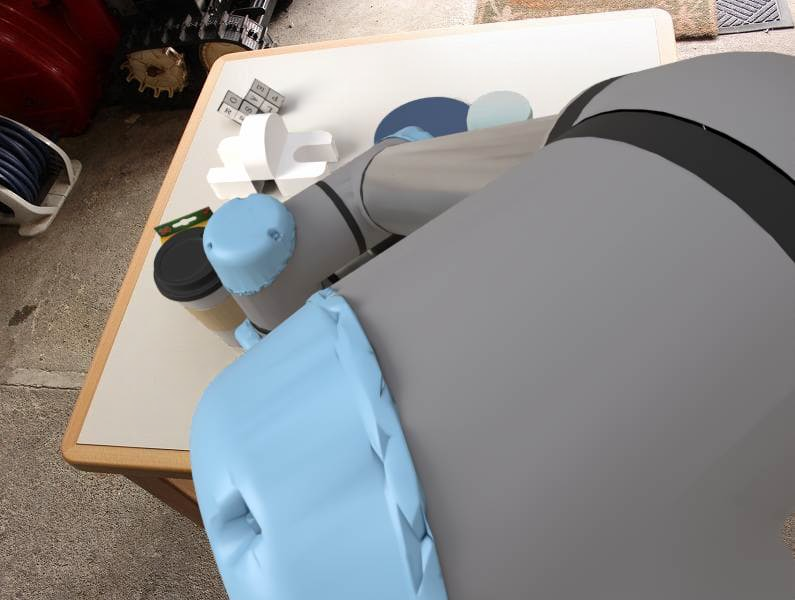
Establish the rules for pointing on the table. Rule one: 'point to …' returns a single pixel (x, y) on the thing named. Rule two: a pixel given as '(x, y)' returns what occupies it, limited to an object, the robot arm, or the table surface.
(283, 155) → the u-slot mount
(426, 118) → the slate-blue mat
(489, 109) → the pale blue cylinder
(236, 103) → the building blocks
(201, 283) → the coffee cup
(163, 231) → the crayon box
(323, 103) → the table surface
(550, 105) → the table surface
